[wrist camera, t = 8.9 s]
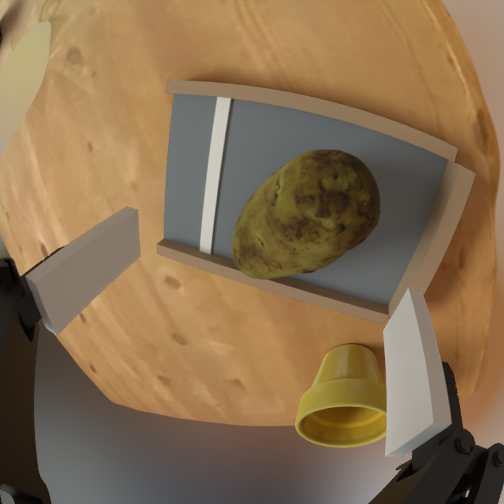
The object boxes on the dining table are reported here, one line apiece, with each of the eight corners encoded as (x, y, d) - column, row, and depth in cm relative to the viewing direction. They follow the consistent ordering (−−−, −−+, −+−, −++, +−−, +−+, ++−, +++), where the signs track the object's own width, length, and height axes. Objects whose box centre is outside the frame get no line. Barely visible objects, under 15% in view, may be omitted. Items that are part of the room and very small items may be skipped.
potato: (215, 188, 25) (167, 219, 18) (352, 130, 19) (361, 136, 12) (255, 266, 27) (225, 318, 20) (387, 225, 22) (404, 274, 15)
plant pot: (395, 377, 30) (397, 442, 22) (322, 390, 35) (310, 451, 26) (384, 322, 27) (389, 396, 19) (297, 340, 32) (278, 409, 23)
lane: (181, 81, 22) (159, 79, 19) (462, 152, 17) (480, 158, 14) (168, 244, 31) (150, 259, 27) (394, 312, 26) (398, 336, 23)
